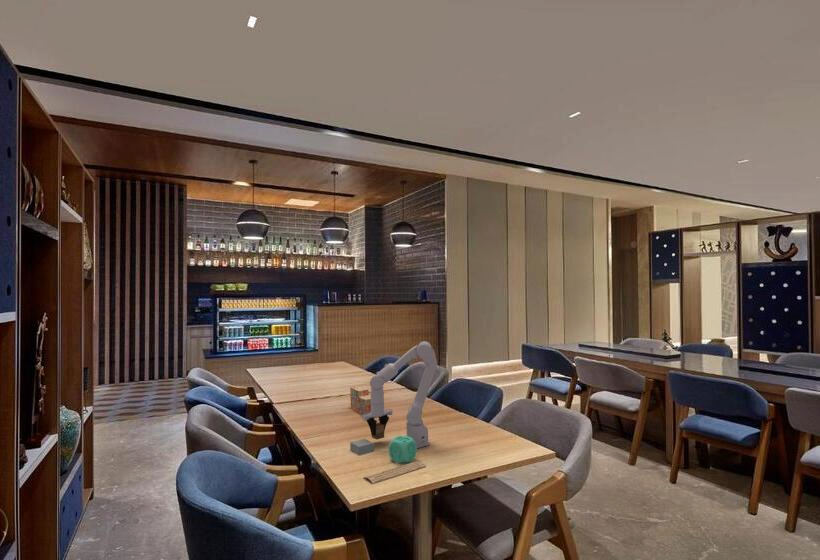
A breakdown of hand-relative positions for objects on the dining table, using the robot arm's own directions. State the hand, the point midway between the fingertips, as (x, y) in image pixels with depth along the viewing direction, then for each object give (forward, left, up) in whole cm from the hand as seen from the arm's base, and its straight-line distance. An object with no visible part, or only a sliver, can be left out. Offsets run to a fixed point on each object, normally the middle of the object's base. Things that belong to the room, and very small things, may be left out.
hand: (377, 434), depth 186 cm
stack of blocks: (+48, -22, -4) cm, 53 cm away
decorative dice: (-22, +3, -4) cm, 23 cm away
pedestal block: (-3, +10, -4) cm, 11 cm away
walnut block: (0, 0, -1) cm, 1 cm away
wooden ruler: (-29, +13, -5) cm, 32 cm away
